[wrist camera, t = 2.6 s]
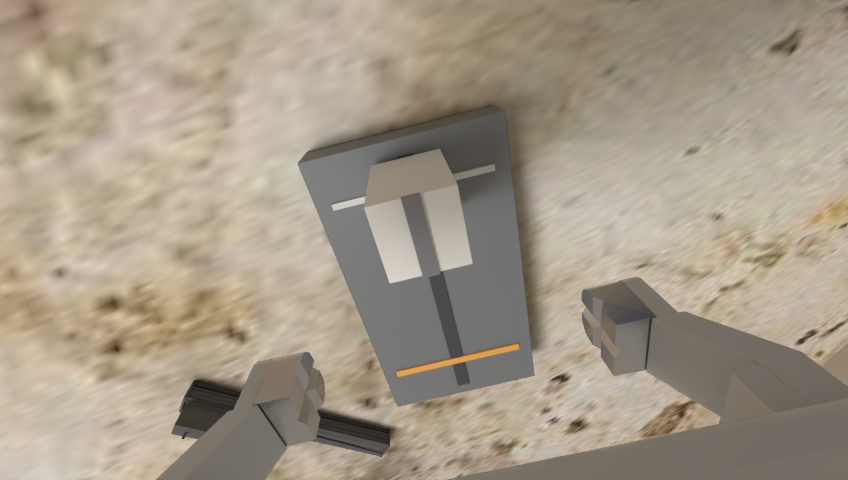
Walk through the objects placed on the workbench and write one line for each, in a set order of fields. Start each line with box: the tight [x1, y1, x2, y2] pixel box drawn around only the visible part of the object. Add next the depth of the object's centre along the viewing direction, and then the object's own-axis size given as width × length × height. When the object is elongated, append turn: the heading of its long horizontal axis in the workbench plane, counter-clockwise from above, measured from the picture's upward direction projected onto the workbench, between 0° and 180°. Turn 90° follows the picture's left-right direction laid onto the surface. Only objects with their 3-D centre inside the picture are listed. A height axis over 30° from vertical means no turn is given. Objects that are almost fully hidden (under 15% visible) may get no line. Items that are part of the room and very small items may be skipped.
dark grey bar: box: [172, 380, 390, 457], centre depth 32 cm, size 19×3×4 cm, turn 62°
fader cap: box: [364, 149, 473, 283], centre depth 18 cm, size 4×4×6 cm
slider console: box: [298, 105, 534, 407], centre depth 26 cm, size 22×12×3 cm, turn 13°
